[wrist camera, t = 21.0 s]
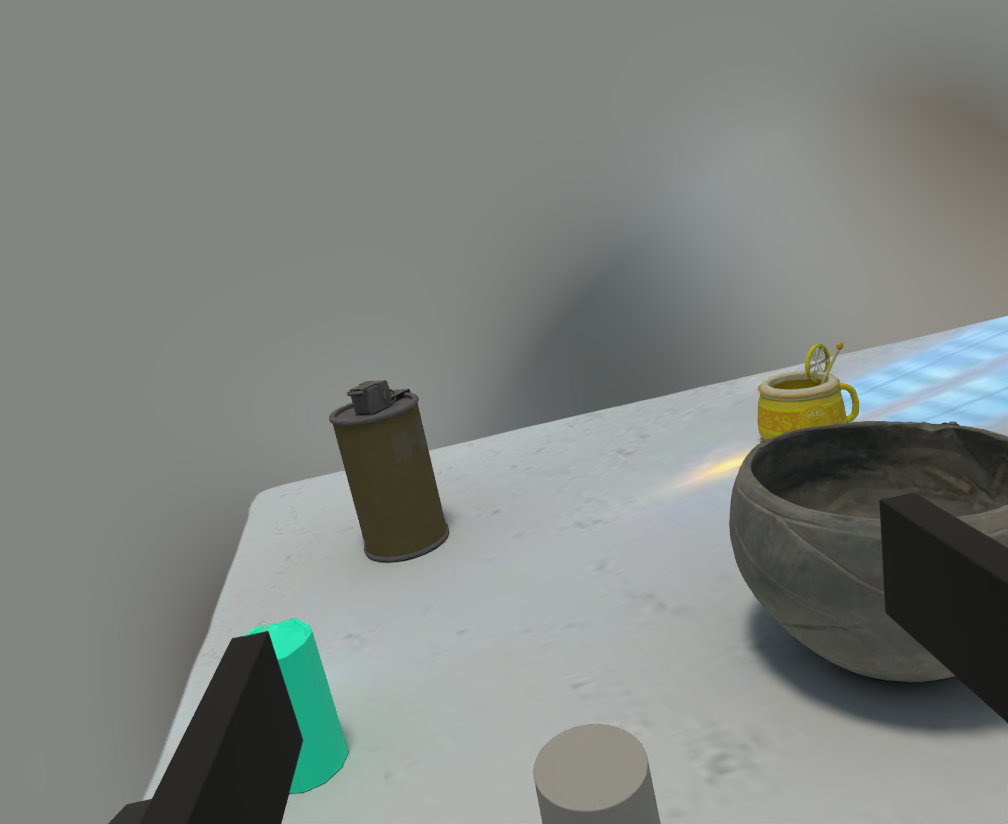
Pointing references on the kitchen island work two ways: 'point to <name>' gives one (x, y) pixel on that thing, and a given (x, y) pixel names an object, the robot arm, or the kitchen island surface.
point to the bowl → (855, 529)
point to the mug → (804, 398)
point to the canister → (389, 472)
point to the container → (595, 778)
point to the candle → (308, 703)
